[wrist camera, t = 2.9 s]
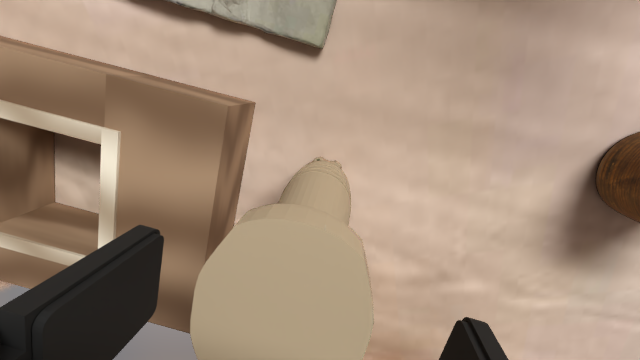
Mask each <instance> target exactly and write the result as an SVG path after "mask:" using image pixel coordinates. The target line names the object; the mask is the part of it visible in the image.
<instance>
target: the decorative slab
mask: <svg viewBox="0 0 640 360" xmlns="http://www.w3.org/2000/svg"><path fill="white" fill-rule="evenodd" d="M165 1H169V2H172V3H175V4H178V5H181V6H184V7H187V8H190V9H194V10H198V11H202V12H205V13H208V14H211V15H213V16H216V17H219V18H222V19H225V20H229V21H232V22H235V23H239V24H243V25H247V26H250V27H253V28H257V29H260V30H263V31H264V32H265V33H268V34H273V35H278V36H282V37H285V38H288V39H292V40H295V41H298V42H301V43H304V44H307V45H310V46H313V47H317V48H320V49H323V47H324V45H325V41H326V38H327V35H328V31H329V28H330V23H331V19H332V15H333V12H334V8H335V4H336V1H337V0H165Z"/></svg>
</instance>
